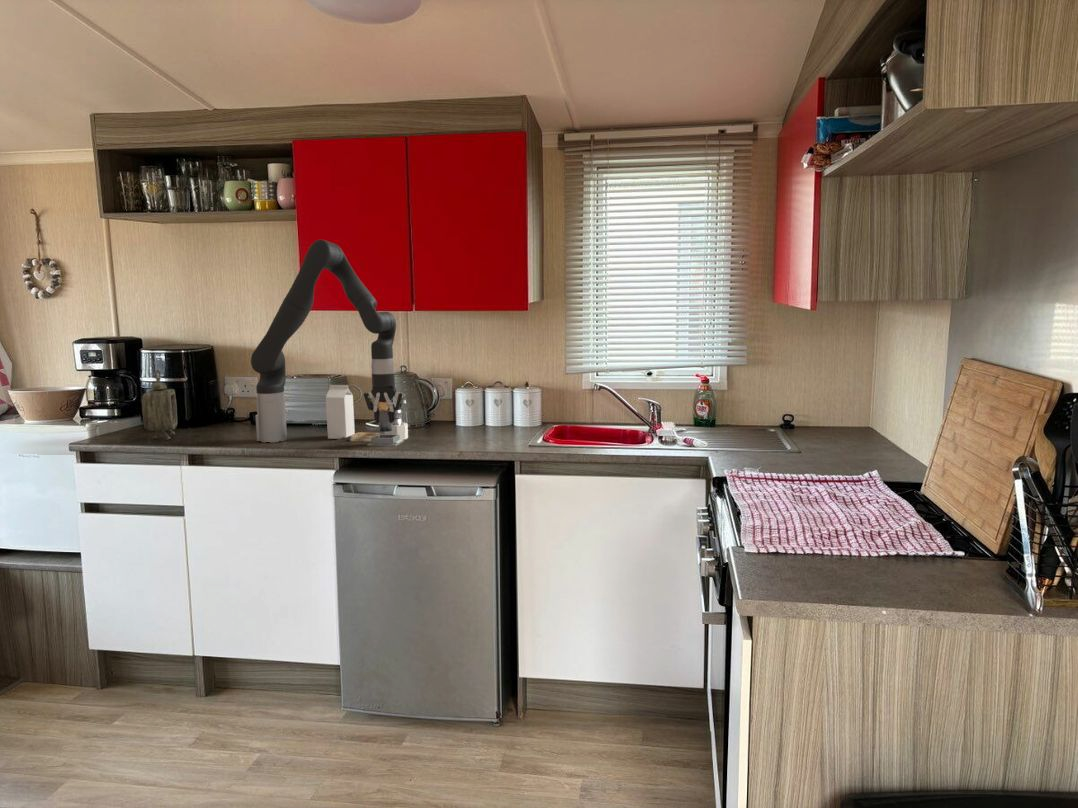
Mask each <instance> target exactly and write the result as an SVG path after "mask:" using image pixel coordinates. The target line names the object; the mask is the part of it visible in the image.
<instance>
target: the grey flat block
mask: <svg viewBox="0 0 1078 808" xmlns="http://www.w3.org/2000/svg"><path fill="white" fill-rule="evenodd" d="M402 443H405V439H404V440H400V435H399V434H385V433H382V434H378V435H376V436H374V437H372V438H371V441H370V442H369V443H367V444H366V446H370V447H397V446H398V445H401V444H402Z"/></svg>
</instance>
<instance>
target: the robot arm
mask: <svg viewBox="0 0 1078 808" xmlns="http://www.w3.org/2000/svg"><path fill="white" fill-rule="evenodd" d="M323 270H326V271H327V270H328V271H329V272H331V274H333V275H334V276H335V277H336V278H337V280H338V281H339V283H341V285H342V288H343V290H344V294H345V296H346V297H347V299H348V300H349V302H350V303H351V304H352V305H353V307H354V308H355V310H356V311H357V312H358V314H359V317H360V318H361V321H362V323H363V325H364V327H365V328H366V330H367V331H369V332H370V333H372V334H375V335H376V334H377V335H378V336H377V339H376V340H375V341H372V343H371V345H370V346H371V347H370V349H371V351H370V352H371V355H370V356H371V365H370V369H371V371H370V372H371V386H372V387H371V391H367V392H364V393H363V397H364V400H365V403H366V406H367V409H368V410H369V411H372V412H373V418H374V419H373V420H374V422H376V424H379V421H378V402H387V404H388V406H389V408H390V411H391V412H390V423H394V421H395V420H396V410H399V409H401V408H402V405H403V401H404V397H405V393H404V392H400V391H397V388H396V379H395V376H396V375H395V371H396V370H395V363H394V352H393V351H394V350H393V344H394V341H395V335H396V332H397V331H396V330H397V321H396V318H395V316H394V314H392V312H390V311H378V310H376V308H377V305H378V301H377V300H376V298H375V297H374V296H373V294H372V293H371V292H370V291H369V289H368V288H367V287H366V286H365V284H364V283H363V282H362V280H361V279H360V278H359V276H358V275H357V274H356V272H355V270H354V269H353V267H352V266H351V264H350V262H349V261H348V258H347V256H346V255H345V253H344V251H343V249H342V248H341V247H340V245H338V244H336V243H333V242H331V241H328V240H325V239H317V240H315V241H313V243H311V245H310V246H309V248H308V249H307V252H306V254H305V257H304V259H303V261H302V264H301V267H300V269H299V271H298V273H297V275H296V277H295V279H294V281H293V282H292V284H291V287H290V289H289V290H288V292H287V293H286V294H285V295H286V296H285V297H284V299H283V300H282V303H281V305H280V306H279V308H278V311H277V313H276V314H275V316H274V318H273V320H272V321H271V324H270V325H269V327H268V329H267V332H266V333H265V335H264V336H263V338H262V339H261V340H260V341H259V343H258V345H257V346H256V347H255V349H254V351H253V352H252V354H251V357H250V364H251V368H252V369H253V370H254V371H255V373H258V374H259V380H258V382H257V383H256V386H255V389H256V407H257V414H255V430H256V442H257V441H261V443H266V442H270V443H278V442H279V441H281V442H284V441H286V440H288V433H287V431H288V430H287V418H286V415H287V414H286V401H285V397H286V396H285V384H286V380H287V379H286V378H287V377H286V372H287V371H286V358H285V354H284V352H283V351H282V350H283V348H284V346H285V345H286V344H287V342H288V341H289V339H290V338H291V337H292V336H293V335H294V334H295V333H296V332H297V331H298V330H299V329H300V327H302V325H303V323H304V322H305V321H306V319H307V317H308V316H309V313H310V312H311V310H312V308H313V305H314V300H315V288H316V286H315V285H316V283H317V281H318V278H319V277H320V275H321V273H322V271H323ZM395 396H396V403H395V400H394V397H395ZM372 397H373V398H374V399H375V400H374V403H373V399H372ZM279 443H280V442H279Z"/></svg>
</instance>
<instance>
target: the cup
mask: <svg viewBox="0 0 1078 808" xmlns="http://www.w3.org/2000/svg"><path fill="white" fill-rule="evenodd" d="M408 428H409V426H408V423H407V422H403V421H402V425H397V426H392V431H388V432H384V434H399V435H400V440H404V441H405V440H407V439H408V438H409V430H408Z"/></svg>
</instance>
